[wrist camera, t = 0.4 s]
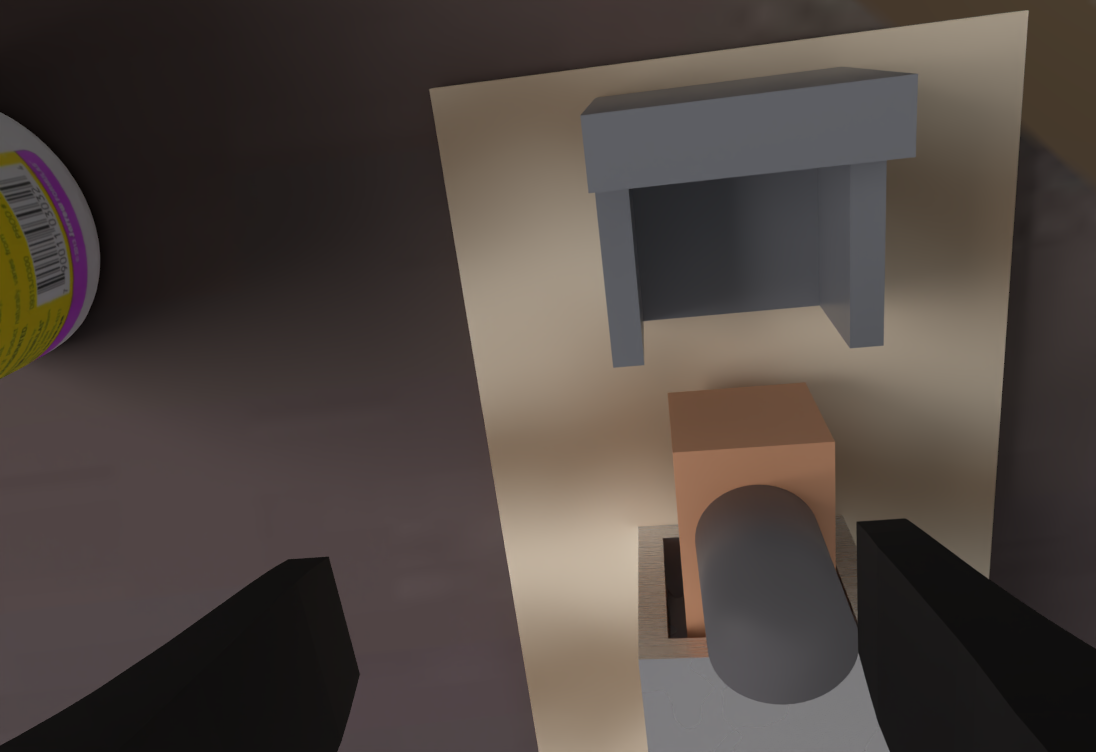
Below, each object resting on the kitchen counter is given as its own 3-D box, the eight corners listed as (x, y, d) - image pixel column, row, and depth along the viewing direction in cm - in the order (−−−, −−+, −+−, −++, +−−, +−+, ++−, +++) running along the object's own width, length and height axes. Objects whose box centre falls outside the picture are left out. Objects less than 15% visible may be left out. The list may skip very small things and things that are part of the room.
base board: (965, 740, 24) (976, 763, 23) (544, 749, 25) (542, 770, 25) (1011, 11, 17) (1028, 10, 16) (437, 87, 19) (429, 88, 18)
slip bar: (813, 795, 23) (872, 1050, 17) (700, 796, 23) (721, 1045, 17) (805, 382, 18) (881, 533, 13) (667, 392, 19) (680, 544, 13)
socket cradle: (842, 295, 19) (909, 377, 14) (617, 315, 19) (610, 400, 15) (842, 66, 17) (918, 73, 12) (595, 97, 18) (580, 115, 13)
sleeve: (842, 737, 23) (894, 910, 18) (659, 741, 24) (665, 909, 19) (842, 515, 21) (902, 650, 16) (638, 526, 21) (638, 659, 17)
